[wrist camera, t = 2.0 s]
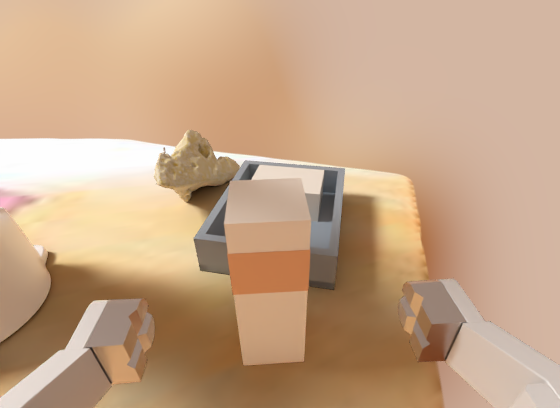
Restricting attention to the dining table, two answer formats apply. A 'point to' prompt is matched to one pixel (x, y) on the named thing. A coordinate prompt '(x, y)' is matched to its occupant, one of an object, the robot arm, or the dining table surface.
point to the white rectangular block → (310, 181)
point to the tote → (321, 237)
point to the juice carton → (269, 267)
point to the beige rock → (193, 166)
